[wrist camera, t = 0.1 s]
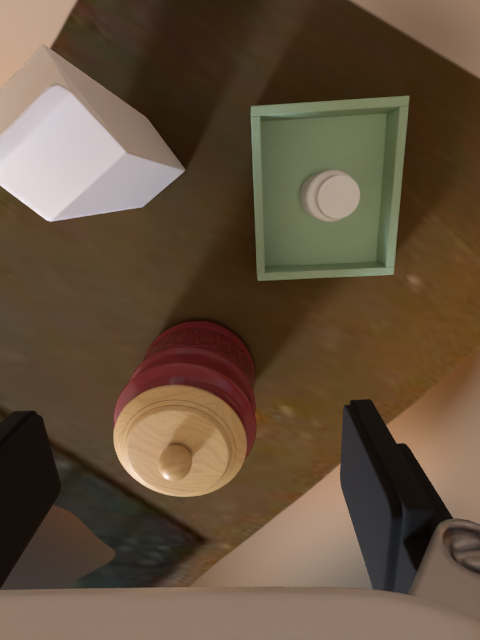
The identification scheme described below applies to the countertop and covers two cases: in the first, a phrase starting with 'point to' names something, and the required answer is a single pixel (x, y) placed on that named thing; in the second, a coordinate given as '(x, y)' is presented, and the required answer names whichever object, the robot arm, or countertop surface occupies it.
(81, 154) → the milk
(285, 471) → the countertop surface
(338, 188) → the pill bottle
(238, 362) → the kitchen canister
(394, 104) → the tray
